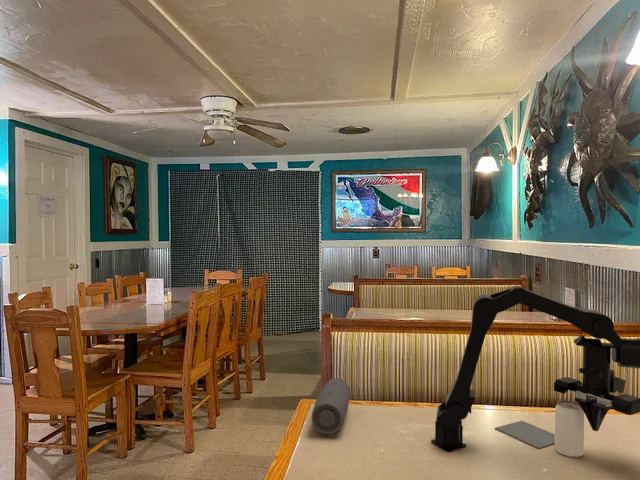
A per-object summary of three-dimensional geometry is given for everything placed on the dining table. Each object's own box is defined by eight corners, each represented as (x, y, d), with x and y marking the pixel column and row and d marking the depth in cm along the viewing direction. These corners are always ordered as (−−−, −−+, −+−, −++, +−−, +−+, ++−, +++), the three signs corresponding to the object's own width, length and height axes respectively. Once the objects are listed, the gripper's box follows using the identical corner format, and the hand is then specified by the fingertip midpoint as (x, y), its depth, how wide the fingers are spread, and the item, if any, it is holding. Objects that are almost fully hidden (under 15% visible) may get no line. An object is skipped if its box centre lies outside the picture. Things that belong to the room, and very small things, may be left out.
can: (576, 446, 121) (577, 400, 121) (588, 458, 115) (589, 409, 115) (550, 445, 122) (550, 399, 122) (560, 457, 116) (561, 408, 115)
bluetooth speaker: (344, 440, 125) (344, 402, 125) (309, 437, 127) (309, 400, 126) (352, 408, 148) (352, 377, 147) (322, 407, 149) (322, 375, 149)
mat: (538, 449, 120) (538, 447, 120) (494, 429, 132) (494, 427, 132) (566, 440, 125) (566, 439, 125) (521, 421, 137) (521, 420, 137)
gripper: (658, 370, 108) (657, 438, 108) (580, 352, 124) (579, 411, 124) (630, 377, 102) (629, 449, 103) (552, 357, 119) (551, 419, 119)
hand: (595, 430), depth 112 cm, fingers closed
